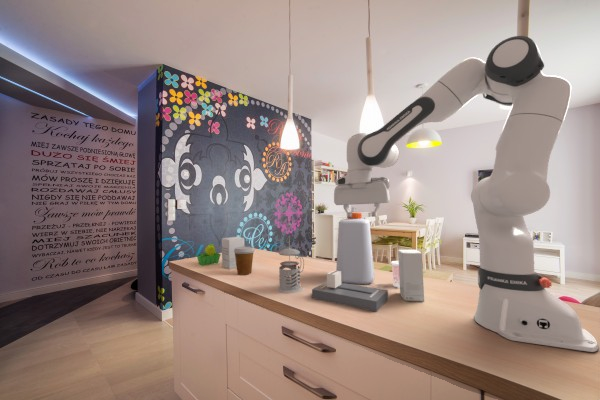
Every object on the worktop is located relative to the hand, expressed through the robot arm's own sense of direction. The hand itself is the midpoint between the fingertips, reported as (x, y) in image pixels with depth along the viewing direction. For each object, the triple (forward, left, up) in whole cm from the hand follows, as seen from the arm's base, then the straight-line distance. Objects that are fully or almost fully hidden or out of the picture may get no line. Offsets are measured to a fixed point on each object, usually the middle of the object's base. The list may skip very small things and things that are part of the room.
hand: (361, 216), depth 97 cm
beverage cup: (-10, -13, -27) cm, 32 cm away
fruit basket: (+88, -1, -27) cm, 92 cm away
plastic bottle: (+8, -13, -27) cm, 31 cm away
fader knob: (+7, +10, -23) cm, 26 cm away
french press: (+24, +11, -27) cm, 38 cm away
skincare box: (-16, -2, -27) cm, 32 cm away
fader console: (+1, +10, -27) cm, 29 cm away
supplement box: (+71, -3, -27) cm, 76 cm away
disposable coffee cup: (+56, +4, -27) cm, 62 cm away
